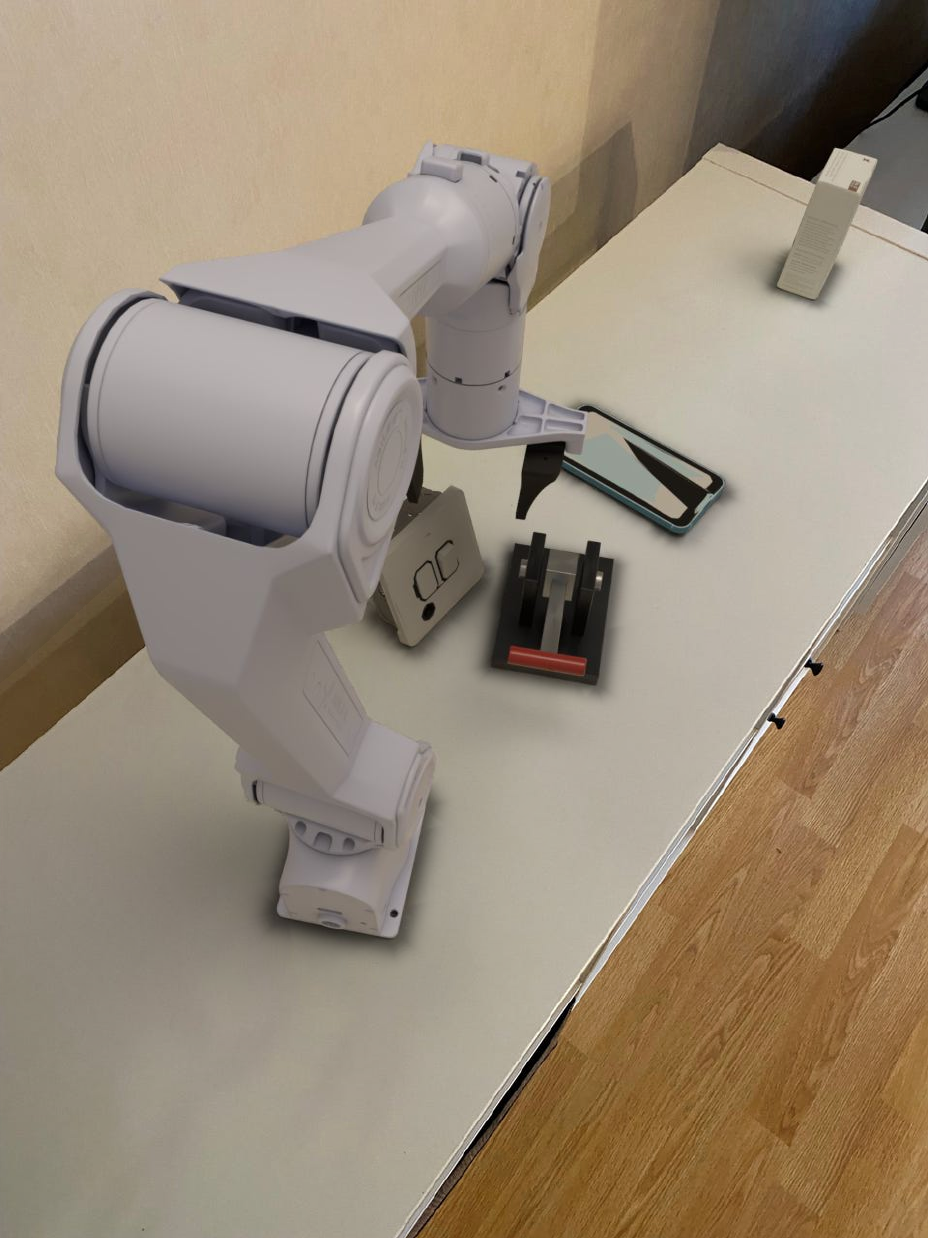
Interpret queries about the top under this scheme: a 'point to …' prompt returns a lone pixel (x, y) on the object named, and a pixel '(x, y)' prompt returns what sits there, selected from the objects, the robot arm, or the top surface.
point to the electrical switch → (428, 563)
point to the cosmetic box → (826, 222)
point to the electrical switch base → (530, 607)
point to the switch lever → (553, 619)
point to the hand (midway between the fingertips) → (468, 500)
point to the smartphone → (643, 472)
